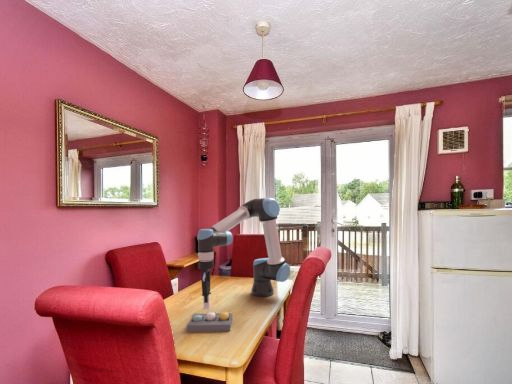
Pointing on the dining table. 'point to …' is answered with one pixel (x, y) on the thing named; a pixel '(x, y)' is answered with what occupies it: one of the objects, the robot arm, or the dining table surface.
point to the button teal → (197, 318)
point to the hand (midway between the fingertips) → (206, 308)
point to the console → (209, 324)
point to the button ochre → (224, 316)
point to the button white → (210, 316)
